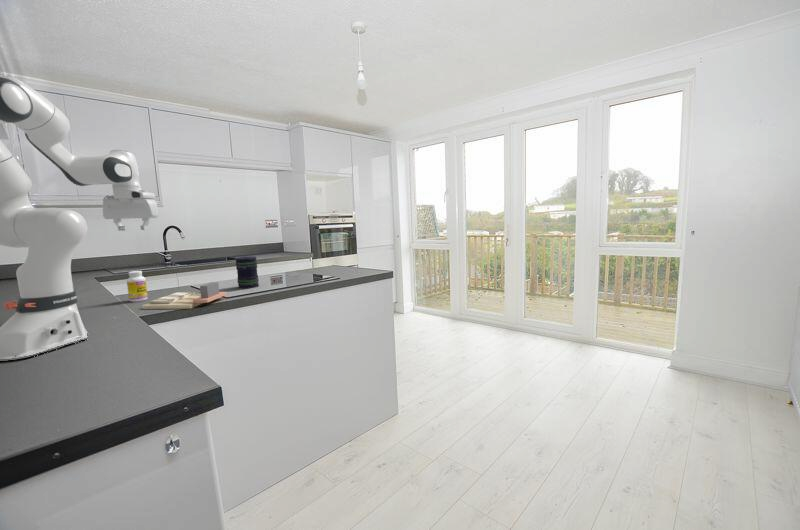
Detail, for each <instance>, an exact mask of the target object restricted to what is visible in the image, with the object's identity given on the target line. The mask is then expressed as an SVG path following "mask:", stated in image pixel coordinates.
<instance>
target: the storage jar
mask: <svg viewBox="0 0 800 530" xmlns="http://www.w3.org/2000/svg"><path fill="white" fill-rule="evenodd" d="M235 266H236V274H237V278H236V279H237V285H238V287H237V288H238V289H239V288H241V290H246V289H247V290H248V289H249V290H250V289H255V288H258V287H259V286H260V285H259V275H258V260H257V256H241V257H236V258H235Z"/></svg>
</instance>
